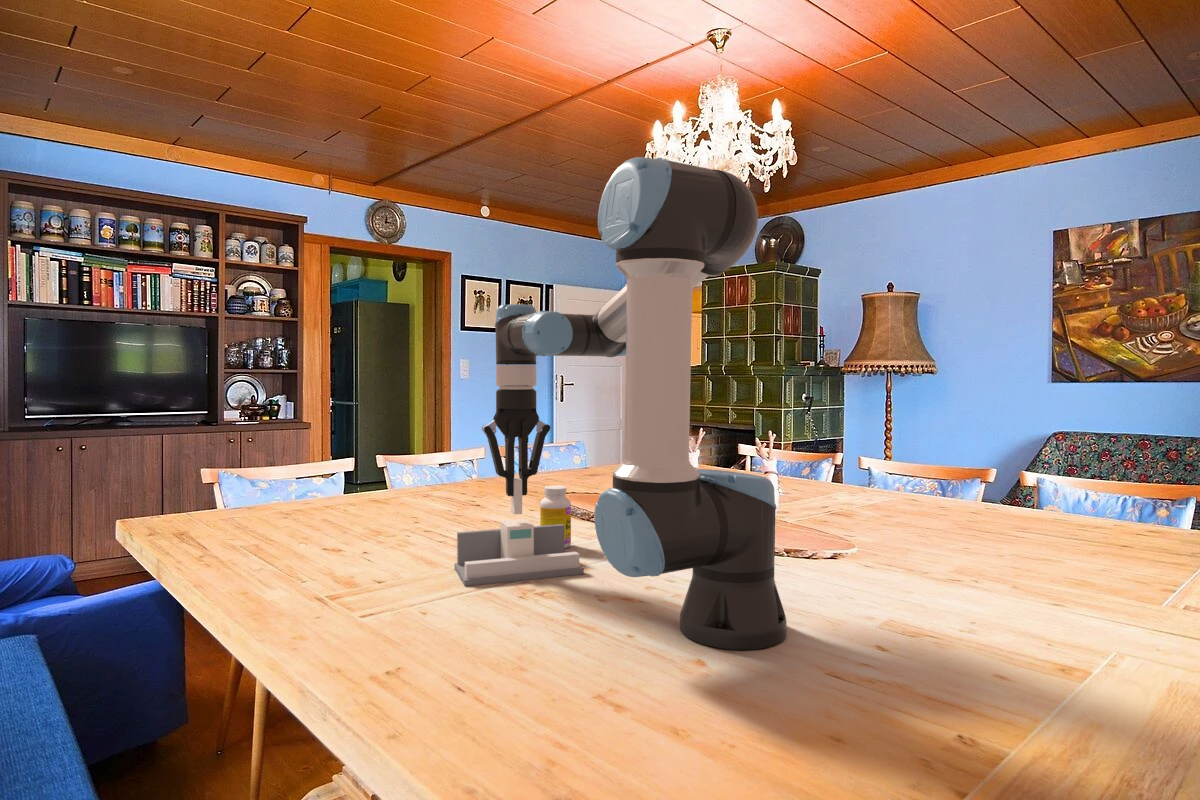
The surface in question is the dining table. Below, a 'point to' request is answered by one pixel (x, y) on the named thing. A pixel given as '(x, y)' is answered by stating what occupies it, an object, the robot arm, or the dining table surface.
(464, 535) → the rail base
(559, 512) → the supplement bottle
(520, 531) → the block
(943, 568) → the dining table surface
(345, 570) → the dining table surface
